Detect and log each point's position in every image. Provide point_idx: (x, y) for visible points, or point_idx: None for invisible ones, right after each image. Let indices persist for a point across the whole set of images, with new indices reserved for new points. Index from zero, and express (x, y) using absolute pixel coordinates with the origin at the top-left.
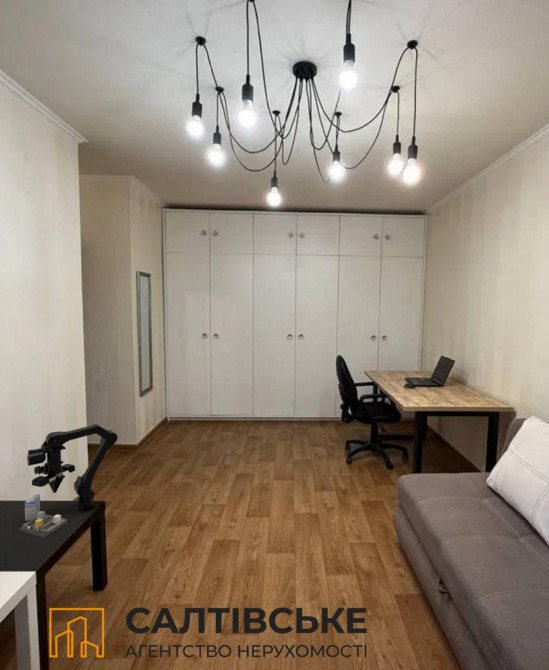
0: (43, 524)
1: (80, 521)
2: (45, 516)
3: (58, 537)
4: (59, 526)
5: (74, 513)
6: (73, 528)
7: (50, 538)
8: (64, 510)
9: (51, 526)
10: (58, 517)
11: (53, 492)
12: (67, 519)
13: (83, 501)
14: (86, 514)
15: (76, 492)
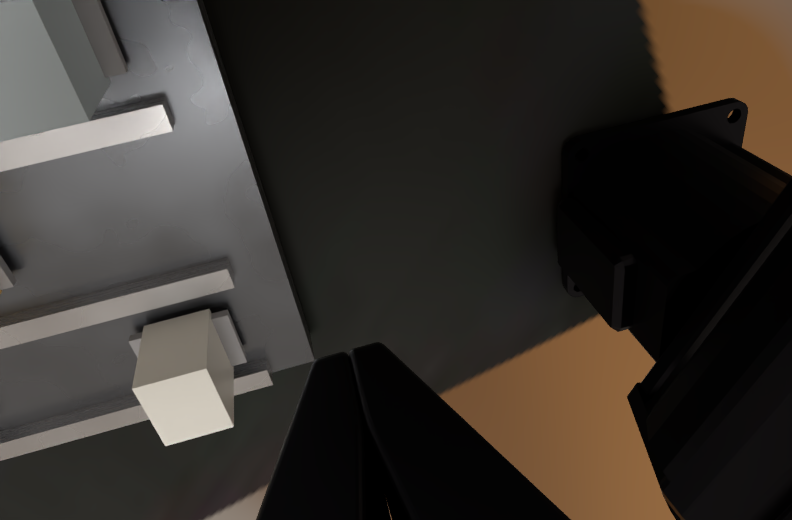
0: (8, 285)
1: None
2: (120, 73)
3: (103, 501)
4: None
5: (483, 209)
6: None
7: (30, 473)
8: (481, 3)
9: (94, 373)
10: (189, 432)
11: (315, 377)
12: (312, 360)
13: (633, 331)
14: (522, 331)
15: (687, 416)
